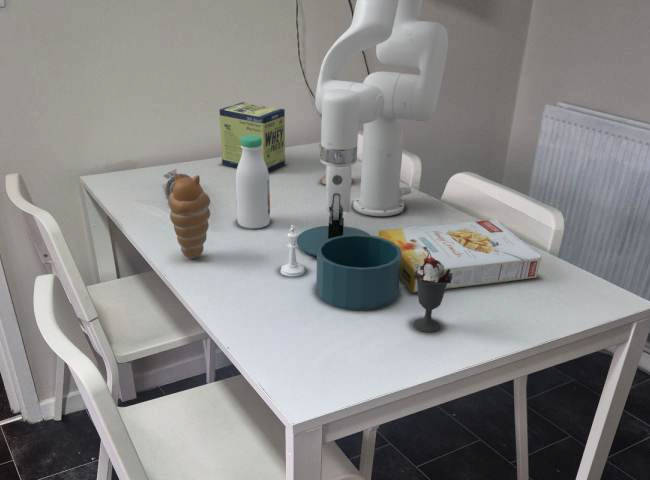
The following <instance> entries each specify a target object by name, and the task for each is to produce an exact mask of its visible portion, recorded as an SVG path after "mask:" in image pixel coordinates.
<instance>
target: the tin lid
mask: <svg viewBox="0 0 650 480" xmlns="http://www.w3.org/2000/svg"><path fill="white" fill-rule="evenodd" d="M328 228H329V225H322V226H316V227H315V226H314V227H312V228H311V227H310V228H308V229H306V230H304V231H302V232H301V233H299V234H298V236H297V239H296V244H297V246H298V247H297V248H299V249H300V250H301V251H302V252H304V253H305V254H309V255H311V256H315V257H317V248H318V247H319V245H320V244H321V243H322V242H324V241H326V240H328ZM355 234H357V235H370V236H372V235H371V234H370V233H368V232H367V231H365V230H362V229H359V228H357V227H351V226H347V225H346V226H345V225H344V226H343V235H355Z"/></svg>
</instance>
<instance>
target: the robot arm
mask: <svg viewBox="0 0 650 480" xmlns="http://www.w3.org/2000/svg"><path fill="white" fill-rule="evenodd" d="M422 5H423V0H356V2H355V7H354V11H353V16H352V20H351V24H350V27H348V28H347V30H346V31H344V32H343V33H342V35H340V36H339V37H338V38H337V39H336V41H335V42H334V43H333V45H331V46H330V48H329V49H328V51H327V53H326V55H325V56H324V58H323V60H322V62H321V65H320V68H319V69H320V70H319V73H318V74H319V75H318V77H317V78H318V79H317V83H316V88H315V95H314V97H315V98H314V100H315V101H314V104H315V109H316V111H317V112H318V114H319V115H321V125H320V127H321V129H320V130H321V132H320V142H321V149H320V151H321V156H320V163H321V162H322V163H323V164H322V165H324V164H325V165H326V169H325V175H326V184H325V202H326V203H325V204H326V211H327V213H329V217H328V226H329V228H328V239H330V238H334V237H338V236H342V235H343V226H345V225H344V222H345V217H344V213H346V214H348V213H350V210H351V197H352V196H351V193H352V182H351V177H352V176H353V175H352V174H353V173H352V166H353V165H355V164H357V161H358V159H357V158H358V143H359V142H358V141H359V125H363V128H362V129H363V130H362V131H363V134H362V153H361V155H362V156H361V170H360V171H361V172H360V173H361V175H360V190H359V191H360V192H359V194H360V195H359V197H357V198H356V199H354V200H353V204H352V207H353V209H354V210H355V211H356V212H358V213H360V214H362V215H366V216H370V217H371V216H373V217H391V216H395V215H398V214H401V213H402V212H403V211H404V209H405V202H404V201H402V197H403V196H405V195H409V194H411V193H412V188H411V186H409V185H405V186H402V187H400V185H401V171H402V162H403V161H402V160H403V151H404V149H403V148H404V133H403V130H402V127H401V125H400V123H399V121H398V120H399V119H400V120H407V121H416V122H425V121H429V120H430V119H432V117H433V116H434V114H435V112H436V110H437V106H438V102H439V98H440V92H441V86H442V82H443V77H444V71H445V66H446V62H447V55H448V49H449V35H448V31H447V29H446V28H445V27H446V26H444V25H443V24H441V23H439V22H436V21H427V20H426V21H425V20H420V17H421V13H422V12H421V11H422ZM372 47H375V55H376V58H377V60H378V61H379V62H380V63H381V64H383V65H386V66H390V67H398V68H399V67H400V68H409V69H416V70H417V69H418V70H419V74H414V73H413V74H412V73H404V72H398V71H397V72H395V71H386V70H385V71H383V70H381V71H374V72H372V73H370V74H368V75H367V76H366V77H365V78H364V80H363V82H357V81H349V80H340V79H339V75H340V72H341V71H342V69H343V67H344V65H345V64H346V63H347V62H348V61H349V60H350V59H351V58H353V57H354V56H355V55H357V54H359V53H361V52H363V51H365V50H368V49H370V48H372Z"/></svg>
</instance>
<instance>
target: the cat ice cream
mask: <svg viewBox="0 0 650 480" xmlns="http://www.w3.org/2000/svg"><path fill="white" fill-rule="evenodd" d="M179 174H180V173H177V172H176V173H174V177H175V182H176V183H175V185H174V187H173V189H172V191H173V192H172V193H171V194H170V196H169V198H168V199H167V205H168V207H169V209H170V213H169V219H170V221H171V223H172V224H173V229H174V232H175V235H176V240H177V243H178V245H179V246H180V251H181V253H182V254H183V256H185V257H186V258H188V259H191V260H193V259H196V258H198V257H200V256H201V255H202V254H203V252H204V244H205V242H206V241H207V232H208V230H209V227H210V225H209V219H210V217H211V211H210V208H209V207H210V205H211V198H210V196H209V195H208V194H207V193H205V191H204V189H203V187H202V186H201V184H200V181H201V179H200V175H199V174H196V175H194V176H193V177H191V178H189V177H184V178H183V177H182V176H180V175H179Z"/></svg>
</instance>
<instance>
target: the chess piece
mask: <svg viewBox="0 0 650 480" xmlns="http://www.w3.org/2000/svg"><path fill="white" fill-rule="evenodd" d="M296 230H297V228H296V226H295V225H294V224H291V225H290V228H289V229H288V232H289V233H288V234H287V239H288V241H289V243H288V244H287V248H288V249H289V256H288V262H287V263H285V264H283V265H281V267H280V274H281V275H284V276H285V277H286V276H287V277H299V276H302V275H304V273H305V267H304V266H303V265H302V264H299V263H298V262H297V256H296V249H298V248H299V247H298V245H297V237H298V236H299V234H297V233H296V232H295V231H296Z"/></svg>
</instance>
